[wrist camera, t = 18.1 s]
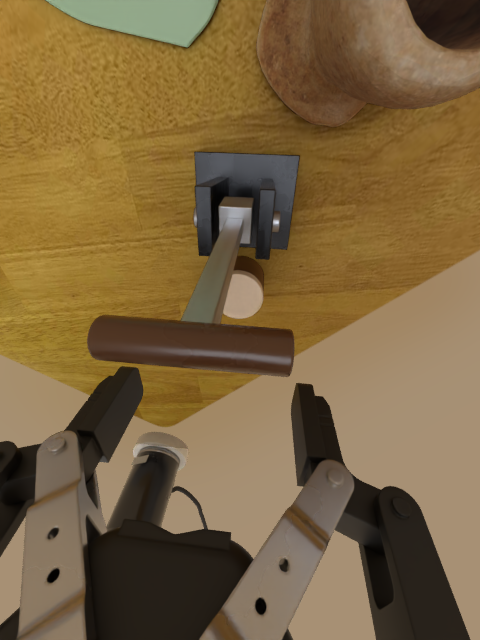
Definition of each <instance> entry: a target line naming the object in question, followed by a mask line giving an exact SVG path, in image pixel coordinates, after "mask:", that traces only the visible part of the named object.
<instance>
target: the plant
mask: <svg viewBox="0 0 480 640" xmlns="http://www.w3.org/2000/svg"><path fill="white" fill-rule="evenodd" d="M45 1H47V2H49V3H50V4H52V5H53V6H55V7H57V8H58V9H60V10H61V11H63V12H65V13H66V14H68V15H70V16H72V17H74V18H75V19H78V20H80V21H82V22H84V23H87V24H90V25H93V26H97V27H102V28H106V29H110V30H114V31H119V32H123V33H127V34H132V35H136V36H140V37H144V38H149V39H153V40H157V41H162V42H166V43H170V44H174V45H179V46H183V47H187V48H188V47H189V46H190V44H191V43H192V42H193V41H194V40H195V39H196V37H197V36H198V35H199V34H200V33H201V32H202V31H203V29H204V28H205V27H206V25H207V24H208V23H209V21H210V19H211V17H212V15H213V13H214V11H215V8H216V6H217V3H218V0H45Z"/></svg>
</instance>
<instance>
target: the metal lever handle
mask: <svg viewBox="0 0 480 640" xmlns="http://www.w3.org/2000/svg"><path fill="white" fill-rule="evenodd" d="M218 209H219V237H218V239H217V241H216V244H215V246H214V248H213V250H212V252H211V255H210V257H209V259H208V261H207V263H206V265H205V268H204V270H203V272H202V274H201V276H200V279H199V281H198V283H197V285H196V287H195V290H194V292H193V294H192V296H191V298H190V300H189V303H188V305H187V307H186V309H185V311H184V314H183V316H182V318H181V320H180V321H177V320H165V319H152V318H139V317H126V316H114V315H102V316H99V317H98V318H96V319H95V320H94V322H93V323H92V325H91V327H90V329H89V333H88V339H87V343H88V349H89V352H90V354H91V356H92V357H93V358H95V359H97V360H103V361H114V362H126V363H137V364H148V365H159V366H170V367H181V368H192V369H203V370H215V371H226V372H237V373H248V374H259V375H271V376H281V377H288V376H290V374H291V371H292V367H293V360H294V335H293V332H292V330H290V329H279V328H267V327H254V326H241V325H228V324H220V322H221V318H222V314H223V310H224V306H225V302H226V298H227V294H228V290H229V286H230V282H231V278H232V274H233V270H234V266H235V262H236V258H237V254H238V250H239V246H240V243H245V244H250V243H251V237H252V231H253V215H254V198H246V197H224V199H223V200H222V202H221V203H220V205H219V207H218Z"/></svg>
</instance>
